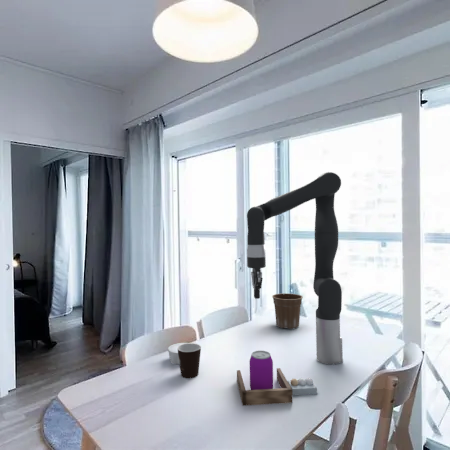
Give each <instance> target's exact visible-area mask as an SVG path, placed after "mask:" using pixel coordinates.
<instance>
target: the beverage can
mask: <svg viewBox="0 0 450 450" xmlns="http://www.w3.org/2000/svg"><path fill="white" fill-rule="evenodd" d="M260 389H274V361H273V358H272V356H271V353H270V352H269V351H265V350H255V351H253V352H252V353H251V356H250V359H249V390H260Z"/></svg>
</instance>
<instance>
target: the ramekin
mask: <svg viewBox="0 0 450 450" xmlns="http://www.w3.org/2000/svg"><path fill="white" fill-rule="evenodd" d="M187 343H188V342H179V343H174V344H171V345H169V346H168V347H167V353H168V356H169V361H170V362H171V363H172V364H173V365H179V366H180V364H179V356H178V347H179V346H180V345H182V344H187Z"/></svg>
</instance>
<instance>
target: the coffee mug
mask: <svg viewBox="0 0 450 450" xmlns="http://www.w3.org/2000/svg"><path fill="white" fill-rule="evenodd" d="M186 343H187V344H182V345H180V346H179V347H178V356H179V364H180V365H179V371H180V376H181V377H182V378H183V379H189V380H190V379H194V378H196V377H198V375H199V371H200V362H201V361H200V359H201V350H202V346H201V345H200V344H198V343H193V342H191V343H189V342H186Z"/></svg>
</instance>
